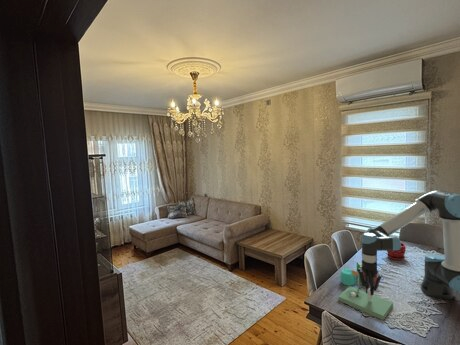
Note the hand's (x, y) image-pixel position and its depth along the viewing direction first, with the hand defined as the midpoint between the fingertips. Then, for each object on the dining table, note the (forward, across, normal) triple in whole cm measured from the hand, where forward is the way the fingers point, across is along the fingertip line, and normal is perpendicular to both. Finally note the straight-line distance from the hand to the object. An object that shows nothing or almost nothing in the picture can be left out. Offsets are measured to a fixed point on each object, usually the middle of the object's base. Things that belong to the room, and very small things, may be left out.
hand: (369, 299), depth 137 cm
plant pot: (+4, +9, -77) cm, 77 cm away
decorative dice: (+4, +19, -14) cm, 24 cm away
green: (+4, +3, 0) cm, 4 cm away
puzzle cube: (+4, +12, -28) cm, 30 cm away
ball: (+2, +9, 0) cm, 9 cm away
